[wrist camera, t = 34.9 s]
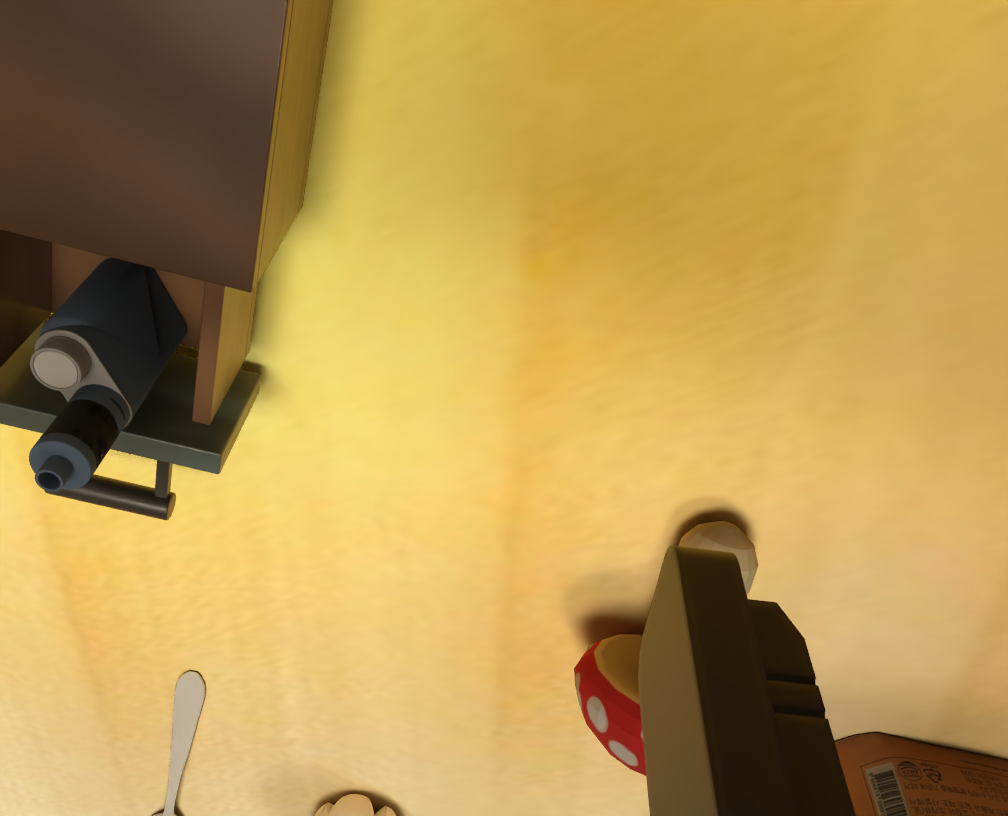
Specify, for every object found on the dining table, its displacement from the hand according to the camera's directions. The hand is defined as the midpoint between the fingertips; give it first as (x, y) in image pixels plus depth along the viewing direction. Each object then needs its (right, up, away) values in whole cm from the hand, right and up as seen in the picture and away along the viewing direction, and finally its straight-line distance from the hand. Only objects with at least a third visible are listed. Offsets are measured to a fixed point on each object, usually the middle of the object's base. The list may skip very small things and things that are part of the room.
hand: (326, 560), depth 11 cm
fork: (-21, -25, +58) cm, 67 cm away
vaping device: (-15, +7, +34) cm, 37 cm away
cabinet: (-11, +19, +28) cm, 35 cm away
